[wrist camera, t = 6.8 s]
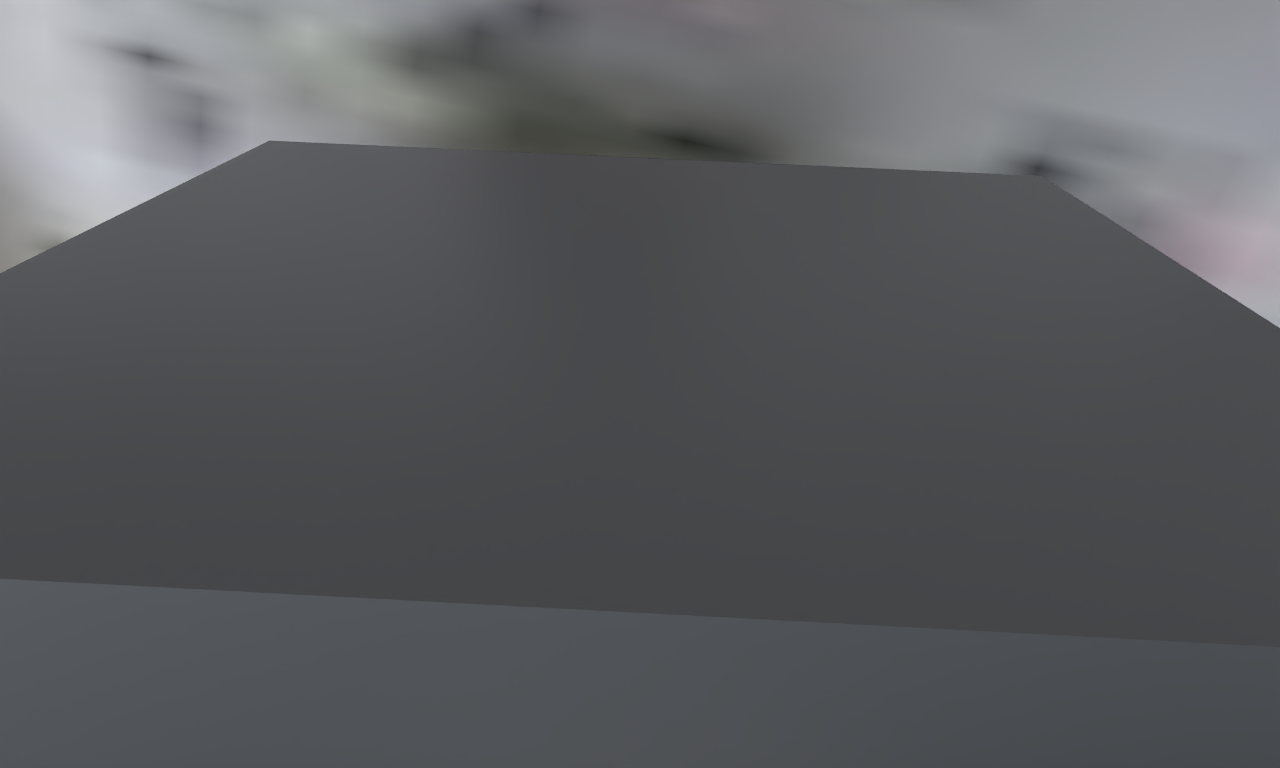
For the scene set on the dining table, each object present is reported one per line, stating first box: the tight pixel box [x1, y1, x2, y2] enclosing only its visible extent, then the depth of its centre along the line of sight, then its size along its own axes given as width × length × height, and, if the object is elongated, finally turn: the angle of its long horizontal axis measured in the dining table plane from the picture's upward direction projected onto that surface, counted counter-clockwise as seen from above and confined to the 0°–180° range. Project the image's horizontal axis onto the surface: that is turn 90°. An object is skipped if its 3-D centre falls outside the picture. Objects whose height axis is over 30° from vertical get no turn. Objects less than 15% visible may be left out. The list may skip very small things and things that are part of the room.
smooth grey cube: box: [0, 141, 1280, 768], centre depth 10 cm, size 10×10×9 cm
